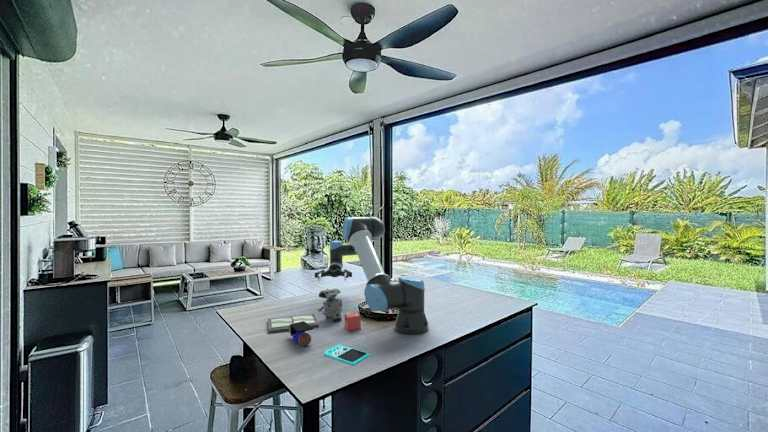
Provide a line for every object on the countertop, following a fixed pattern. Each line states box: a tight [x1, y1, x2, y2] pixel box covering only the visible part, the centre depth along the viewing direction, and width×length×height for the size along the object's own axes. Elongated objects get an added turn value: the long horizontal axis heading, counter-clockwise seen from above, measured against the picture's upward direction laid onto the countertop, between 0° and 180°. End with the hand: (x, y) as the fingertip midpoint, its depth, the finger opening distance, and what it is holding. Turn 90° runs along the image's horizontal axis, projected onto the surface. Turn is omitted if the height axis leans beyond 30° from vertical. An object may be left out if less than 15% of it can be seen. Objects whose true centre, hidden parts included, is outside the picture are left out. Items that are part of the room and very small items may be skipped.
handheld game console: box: [324, 343, 371, 366], centre depth 131 cm, size 10×16×1 cm, turn 55°
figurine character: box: [288, 321, 314, 347], centre depth 144 cm, size 7×8×15 cm
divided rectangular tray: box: [267, 313, 320, 334], centre depth 163 cm, size 16×22×2 cm
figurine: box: [317, 288, 343, 323], centre depth 168 cm, size 9×12×15 cm
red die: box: [344, 311, 362, 331], centre depth 158 cm, size 6×6×6 cm
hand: (332, 278), depth 181 cm, fingers open, 13 cm apart
